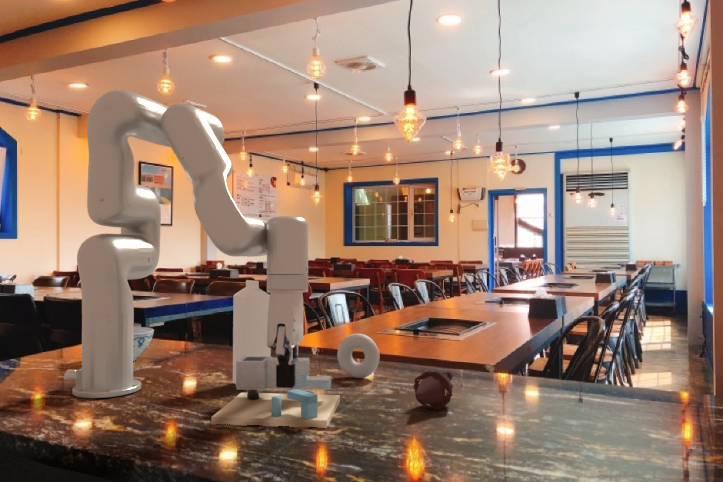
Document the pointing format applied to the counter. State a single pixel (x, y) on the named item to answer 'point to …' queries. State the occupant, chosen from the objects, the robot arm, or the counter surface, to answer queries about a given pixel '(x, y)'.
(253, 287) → the milk
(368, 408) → the counter surface
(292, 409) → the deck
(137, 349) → the chinaware
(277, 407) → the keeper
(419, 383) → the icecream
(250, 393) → the pintle
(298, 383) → the link
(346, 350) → the donut
